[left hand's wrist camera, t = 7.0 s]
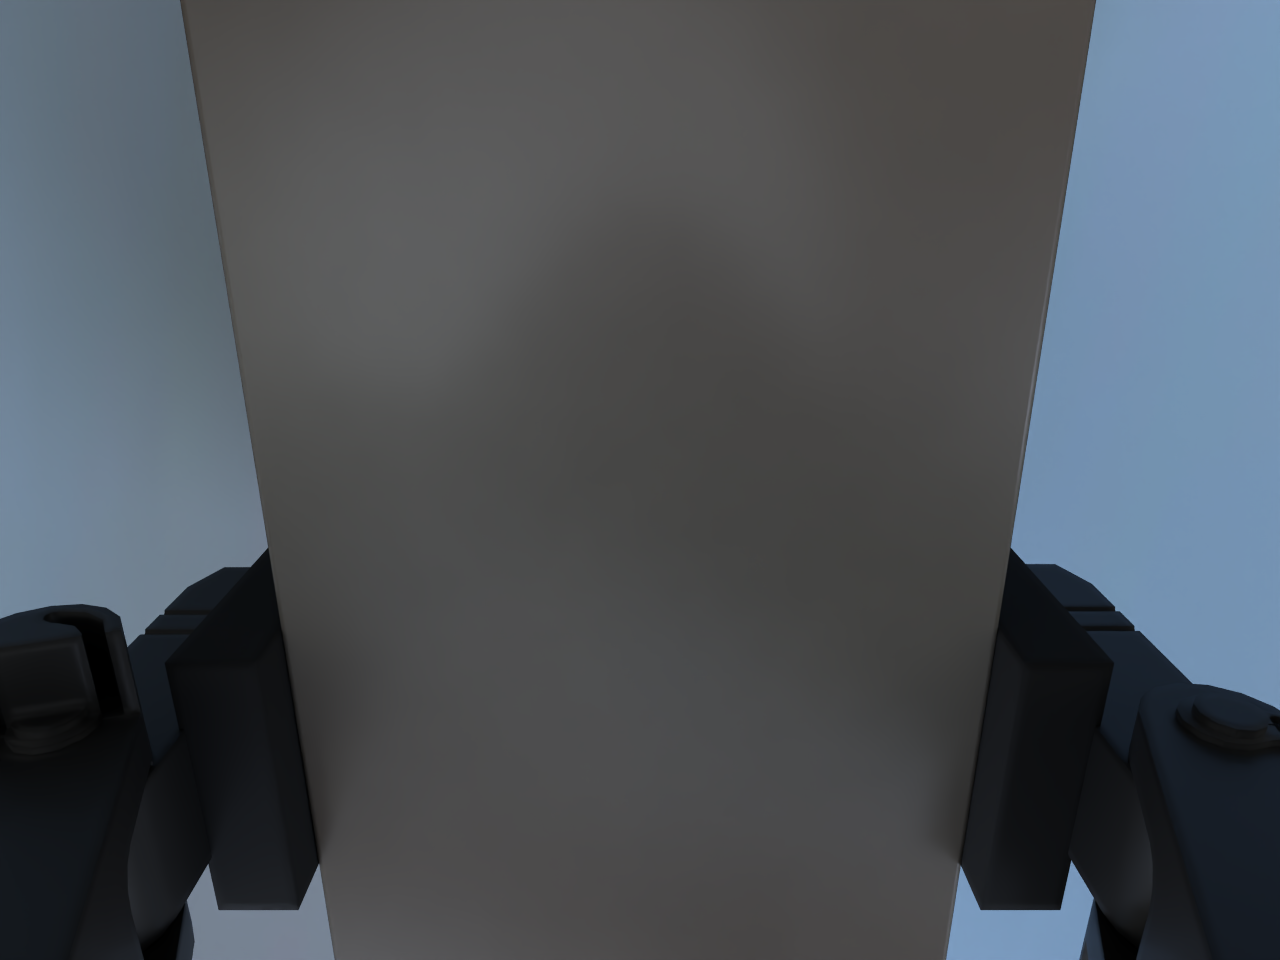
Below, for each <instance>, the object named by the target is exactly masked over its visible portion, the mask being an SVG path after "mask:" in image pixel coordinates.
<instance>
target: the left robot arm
mask: <svg viewBox="0 0 1280 960" xmlns="http://www.w3.org/2000/svg"><path fill="white" fill-rule="evenodd" d="M1071 860H1072V862H1073V864H1074V865H1075V867H1076V869H1077V870H1078V872H1079V874H1080V875H1081V877H1082V879H1083V880H1084V882H1085V884H1086V885H1087V887H1088V889H1089V890H1090V892H1091V894H1092V895H1093V897H1094V900H1093V904H1092V908H1091V912H1090V917H1089V921H1088V925H1087V929H1086V934H1085V938H1084V942H1083V947H1082V951H1081V955H1080V959H1079V960H1280V710H1278V709H1277V708H1275V707H1273V706H1271V705H1268V704H1266V703H1264V702H1261V701H1259V700H1256V699H1254V698H1252V697H1249V696H1247V695H1244V694H1242V693H1238V692H1234V691H1230V690H1226V689H1222V688H1218V687H1214V686H1210V685H1201V684H1192V683H1191V682H1190V681H1189V680H1188V679H1187V678H1186V677H1185V676H1184V675H1183V674H1182V673H1181V672H1180V671H1179V670H1178V669H1177V668H1176V667H1175V666H1174V665H1173V664H1172V663H1171V662H1170V661H1169V660H1168V659H1167V658H1166V657H1165V656H1164V655H1163V654H1162V653H1161V652H1160V651H1159V650H1158V649H1157V648H1156V647H1155V646H1154V645H1153V644H1152V643H1151V642H1150V641H1149V640H1148V639H1147V638H1146V637H1145V636H1144V635H1143V634H1142V633H1141V632H1140V631H1135V630H1134V625H1133V624H1132V623H1131V622H1130V621H1129V620H1128V619H1127V618H1126V617H1125V616H1124V615H1123V614H1122V613H1121V612H1120V611H1115V606H1114V605H1113V604H1112V603H1111V602H1110V601H1109V600H1108V599H1107V598H1106V597H1105V596H1104V595H1103V594H1101V593H1100V592H1099V591H1098V590H1097V589H1096V588H1095V587H1094V586H1093V585H1092V584H1091V583H1089V582H1087V581H1085V580H1084V579H1082V578H1080V577H1078V576H1076V575H1074V574H1072V573H1070V572H1069V571H1067V570H1065V569H1063V568H1061V567H1059V566H1057V565H1056V564H1025V563H1024V562H1023V561H1022V560H1021V559H1020V558H1019V556H1018V555H1017V554H1016V553H1015V552H1014V551H1013V550H1012V549H1011V548H1010V553H1009V560H1008V566H1007V572H1006V579H1005V585H1004V591H1003V598H1002V604H1001V611H1000V617H999V623H998V630H997V636H996V643H995V649H994V655H993V662H992V668H991V675H990V681H989V687H988V694H987V700H986V707H985V713H984V719H983V726H982V732H981V738H980V745H979V751H978V758H977V764H976V770H975V777H974V783H973V790H972V796H971V802H970V809H969V815H968V822H967V828H966V834H965V841H964V847H963V854H962V860H961V866H962V869H963V871H964V873H965V876H966V878H967V880H968V882H969V885H970V887H971V889H972V891H973V894H974V896H975V898H976V901H977V903H978V905H979V907H980V910H1060V909H1061V905H1062V900H1063V896H1064V891H1065V886H1066V882H1067V877H1068V873H1069V868H1070V864H1071ZM208 864H209V868H210V873H211V877H212V882H213V886H214V891H215V896H216V900H217V905H218V909H219V910H299V907H300V905H301V903H302V901H303V898H304V896H305V894H306V892H307V889H308V887H309V885H310V882H311V880H312V878H313V876H314V873H315V871H316V869H317V867H318V864H319V858H318V852H317V846H316V840H315V834H314V827H313V821H312V815H311V809H310V803H309V796H308V790H307V784H306V778H305V772H304V765H303V759H302V753H301V747H300V741H299V734H298V728H297V722H296V716H295V710H294V703H293V697H292V691H291V685H290V679H289V672H288V666H287V660H286V654H285V648H284V641H283V635H282V629H281V623H280V617H279V610H278V604H277V598H276V592H275V585H274V579H273V573H272V567H271V561H270V554H269V548H268V549H267V550H266V551H265V552H264V553H263V554H262V555H261V556H260V557H259V559H258V560H257V561H256V562H255V563H254V564H253V565H252V566H251V567H224V568H222V569H220V570H219V571H217V572H215V573H213V574H211V575H209V576H207V577H206V578H204V579H202V580H200V581H198V582H196V583H194V584H193V585H191V586H189V587H187V588H186V589H185V590H184V591H183V592H182V593H181V594H180V595H179V596H178V597H177V598H176V599H175V600H174V601H173V602H172V603H171V604H170V605H169V606H168V607H167V608H166V609H165V614H164V615H159V616H158V617H157V618H156V619H155V620H154V621H153V622H152V623H151V624H150V625H149V626H148V627H147V628H146V629H145V635H139V636H138V637H137V638H136V639H135V640H134V641H133V642H132V643H131V644H130V645H129V646H128V647H127V644H126V640H125V636H124V631H123V627H122V623H121V619H120V616H118V615H117V614H115V613H114V612H112V611H110V610H109V609H107V608H104V607H98V606H91V605H85V604H77V605H60V606H49V607H44V608H39V609H34V610H30V611H25V612H20V613H16V614H13V615H10V616H7V617H4V618H1V619H0V960H192V955H193V948H194V934H193V927H192V921H191V917H190V912H189V908H188V904H187V899H188V897H189V895H190V894H191V892H192V890H193V889H194V887H195V885H196V883H197V882H198V880H199V878H200V877H201V875H202V873H203V872H204V870H205V868H206V867H207V865H208Z"/></svg>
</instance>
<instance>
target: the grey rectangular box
mask: <svg viewBox="0 0 1280 960" xmlns="http://www.w3.org/2000/svg"><path fill="white" fill-rule="evenodd" d="M180 2H181V9H182V15H183V21H184V27H185V33H186V40H187V46H188V52H189V58H190V64H191V71H192V77H193V83H194V89H195V95H196V102H197V108H198V114H199V120H200V126H201V133H202V139H203V145H204V151H205V157H206V164H207V170H208V176H209V182H210V188H211V195H212V201H213V207H214V213H215V219H216V226H217V232H218V238H219V244H220V250H221V257H222V263H223V269H224V275H225V281H226V288H227V294H228V300H229V306H230V313H231V319H232V325H233V331H234V337H235V344H236V350H237V356H238V362H239V368H240V375H241V381H242V387H243V393H244V399H245V406H246V412H247V418H248V424H249V430H250V437H251V443H252V449H253V455H254V461H255V468H256V474H257V480H258V486H259V492H260V499H261V505H262V511H263V517H264V523H265V530H266V536H267V542H268V548H269V554H270V561H271V567H272V573H273V579H274V585H275V592H276V598H277V604H278V610H279V617H280V623H281V629H282V635H283V641H284V648H285V654H286V660H287V666H288V672H289V679H290V685H291V691H292V697H293V703H294V710H295V716H296V722H297V728H298V734H299V741H300V747H301V753H302V759H303V765H304V772H305V778H306V784H307V790H308V796H309V803H310V809H311V815H312V821H313V827H314V834H315V840H316V846H317V852H318V858H319V865H320V871H321V877H322V883H323V889H324V896H325V902H326V908H327V914H328V921H329V927H330V933H331V939H332V945H333V952H334V958H335V960H946V956H947V949H948V943H949V937H950V930H951V924H952V917H953V911H954V905H955V898H956V892H957V885H958V879H959V873H960V866H961V860H962V854H963V847H964V841H965V834H966V828H967V822H968V815H969V809H970V802H971V796H972V790H973V783H974V777H975V770H976V764H977V758H978V751H979V745H980V738H981V732H982V726H983V719H984V713H985V707H986V700H987V694H988V687H989V681H990V675H991V668H992V662H993V655H994V649H995V643H996V636H997V630H998V623H999V617H1000V611H1001V604H1002V598H1003V591H1004V585H1005V579H1006V572H1007V566H1008V560H1009V553H1010V547H1011V540H1012V534H1013V528H1014V521H1015V515H1016V508H1017V502H1018V496H1019V489H1020V483H1021V476H1022V470H1023V464H1024V457H1025V451H1026V445H1027V438H1028V432H1029V425H1030V419H1031V413H1032V406H1033V400H1034V393H1035V387H1036V381H1037V374H1038V368H1039V361H1040V355H1041V349H1042V342H1043V336H1044V329H1045V323H1046V317H1047V310H1048V304H1049V298H1050V291H1051V285H1052V278H1053V272H1054V266H1055V259H1056V253H1057V246H1058V240H1059V234H1060V227H1061V221H1062V214H1063V208H1064V202H1065V195H1066V189H1067V183H1068V176H1069V170H1070V163H1071V157H1072V151H1073V144H1074V138H1075V131H1076V125H1077V119H1078V112H1079V106H1080V99H1081V93H1082V87H1083V80H1084V74H1085V67H1086V61H1087V55H1088V48H1089V42H1090V36H1091V29H1092V23H1093V16H1094V10H1095V4H1096V0H180Z"/></svg>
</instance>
